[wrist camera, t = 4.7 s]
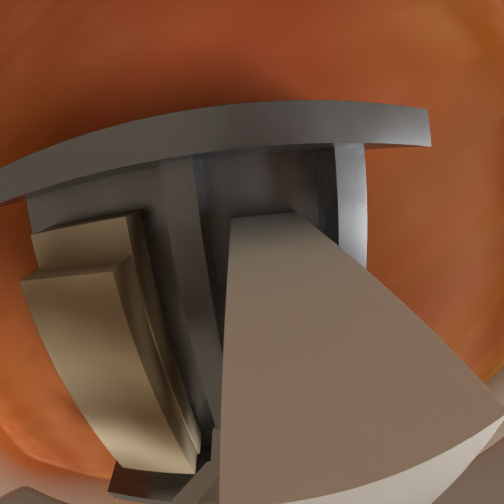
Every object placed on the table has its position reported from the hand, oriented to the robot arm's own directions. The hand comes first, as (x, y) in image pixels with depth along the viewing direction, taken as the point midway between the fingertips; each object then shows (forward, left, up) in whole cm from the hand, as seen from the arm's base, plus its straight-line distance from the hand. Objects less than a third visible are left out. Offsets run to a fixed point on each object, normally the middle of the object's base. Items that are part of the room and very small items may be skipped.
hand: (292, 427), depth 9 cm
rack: (0, -4, -8) cm, 9 cm away
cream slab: (0, 0, -6) cm, 6 cm away
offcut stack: (0, -8, -6) cm, 10 cm away
